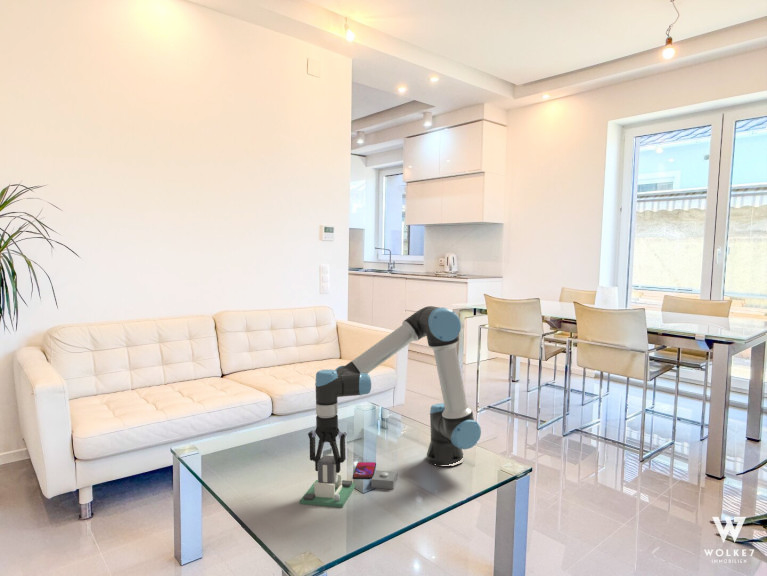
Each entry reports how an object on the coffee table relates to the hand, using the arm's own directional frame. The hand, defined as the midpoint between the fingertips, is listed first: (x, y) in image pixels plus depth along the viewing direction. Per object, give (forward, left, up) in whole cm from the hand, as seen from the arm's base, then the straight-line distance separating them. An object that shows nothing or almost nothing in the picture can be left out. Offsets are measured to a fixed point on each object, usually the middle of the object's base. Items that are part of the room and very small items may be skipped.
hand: (328, 480), depth 169 cm
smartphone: (-8, -22, -6) cm, 24 cm away
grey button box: (-18, -12, -5) cm, 22 cm away
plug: (0, 0, 0) cm, 0 cm away
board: (0, 0, -5) cm, 5 cm away
